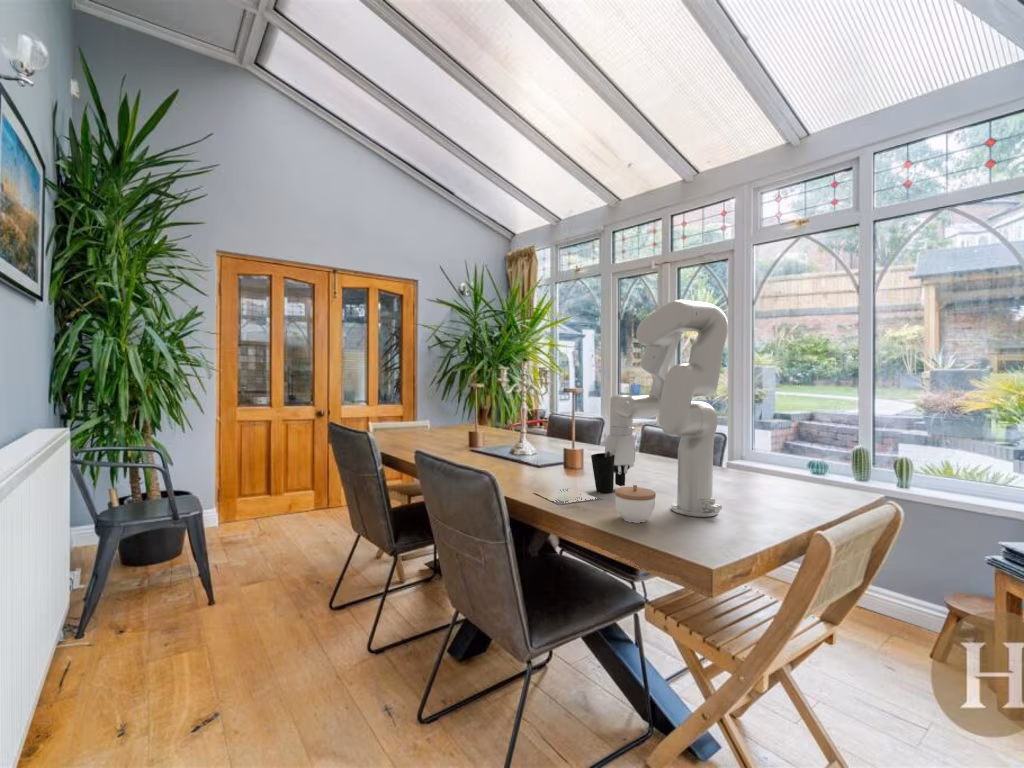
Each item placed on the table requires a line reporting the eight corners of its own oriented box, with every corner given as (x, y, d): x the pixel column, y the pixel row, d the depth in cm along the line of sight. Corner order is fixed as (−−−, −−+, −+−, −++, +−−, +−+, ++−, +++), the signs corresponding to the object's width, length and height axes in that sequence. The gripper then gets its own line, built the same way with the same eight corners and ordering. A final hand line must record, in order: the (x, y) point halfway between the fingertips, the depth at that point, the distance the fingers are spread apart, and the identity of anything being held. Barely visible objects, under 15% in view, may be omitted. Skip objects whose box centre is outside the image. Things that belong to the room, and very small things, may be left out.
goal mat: (602, 499, 157) (602, 498, 157) (558, 505, 150) (558, 504, 150) (573, 488, 171) (573, 487, 171) (532, 493, 164) (532, 492, 164)
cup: (618, 493, 163) (616, 456, 163) (595, 494, 163) (592, 458, 163) (614, 487, 171) (612, 452, 170) (591, 488, 171) (589, 453, 170)
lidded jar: (632, 528, 129) (633, 491, 128) (606, 517, 138) (606, 483, 138) (663, 522, 134) (664, 487, 133) (636, 512, 143) (636, 479, 143)
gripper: (631, 429, 176) (630, 480, 177) (596, 430, 170) (595, 484, 170) (645, 431, 170) (644, 485, 170) (609, 433, 163) (608, 489, 164)
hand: (620, 485), depth 170 cm, fingers closed
